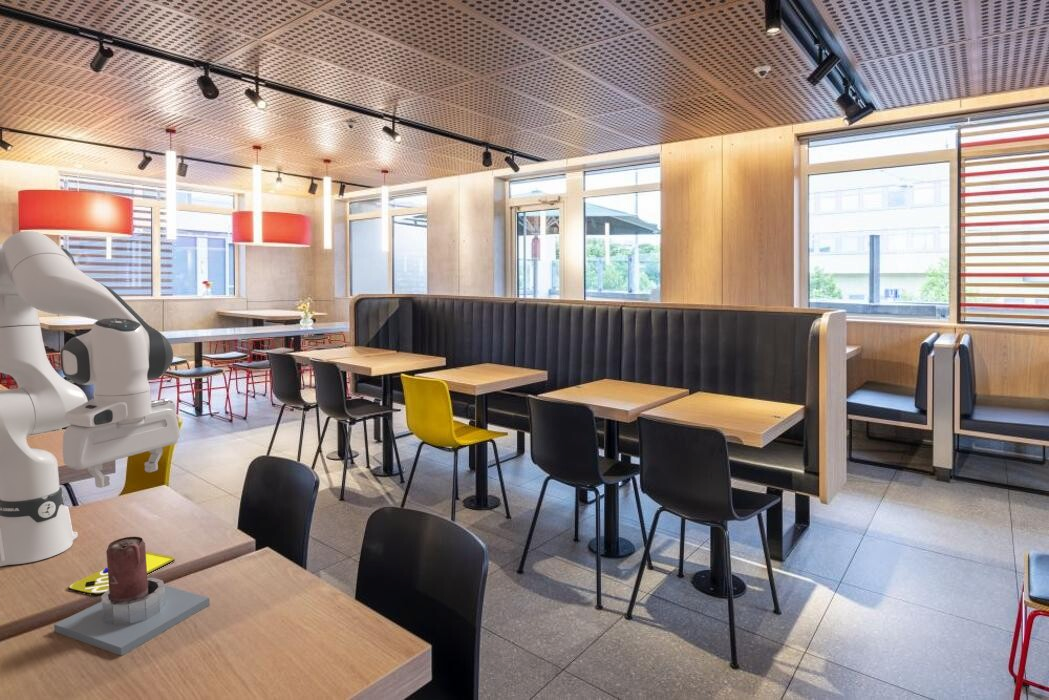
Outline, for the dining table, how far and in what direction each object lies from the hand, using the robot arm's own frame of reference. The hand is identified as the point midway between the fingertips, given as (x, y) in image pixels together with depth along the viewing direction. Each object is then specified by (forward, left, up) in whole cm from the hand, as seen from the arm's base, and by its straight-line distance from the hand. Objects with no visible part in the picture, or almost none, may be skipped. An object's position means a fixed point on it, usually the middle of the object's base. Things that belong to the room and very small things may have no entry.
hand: (128, 478), depth 116 cm
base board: (+1, -1, -27) cm, 27 cm away
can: (+1, -2, -26) cm, 26 cm away
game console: (-18, +10, -28) cm, 35 cm away
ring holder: (+1, -1, -26) cm, 26 cm away
